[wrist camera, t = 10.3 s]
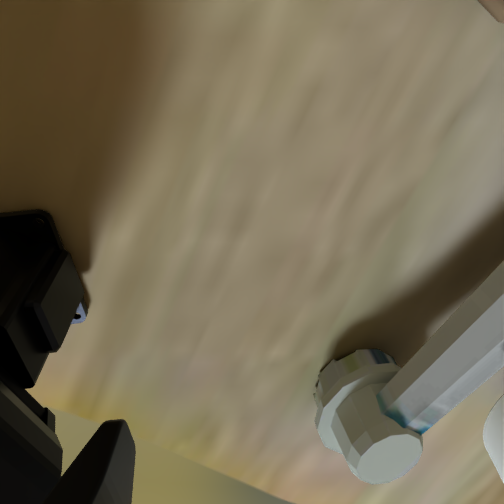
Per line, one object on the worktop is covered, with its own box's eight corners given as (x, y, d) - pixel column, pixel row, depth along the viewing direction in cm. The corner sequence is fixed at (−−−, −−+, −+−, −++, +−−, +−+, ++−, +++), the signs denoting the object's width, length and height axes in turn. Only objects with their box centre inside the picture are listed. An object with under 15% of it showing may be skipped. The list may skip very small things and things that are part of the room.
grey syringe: (861, 117, 16) (393, 530, 24) (682, 92, 22) (353, 429, 30) (798, 23, 14) (315, 501, 22) (622, 23, 20) (289, 400, 28)
